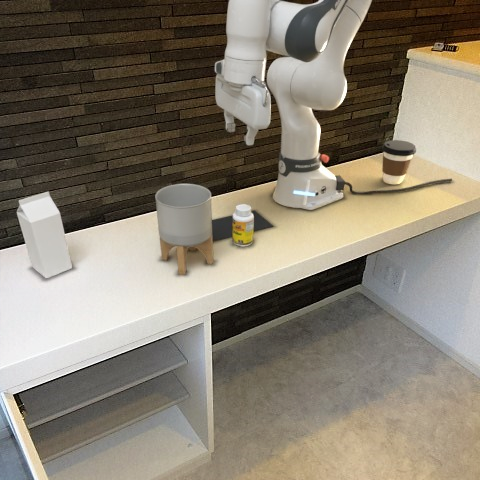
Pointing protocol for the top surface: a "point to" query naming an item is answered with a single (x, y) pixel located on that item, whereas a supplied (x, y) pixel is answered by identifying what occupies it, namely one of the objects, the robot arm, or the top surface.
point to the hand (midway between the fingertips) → (239, 137)
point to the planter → (185, 221)
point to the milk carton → (44, 235)
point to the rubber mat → (225, 225)
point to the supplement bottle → (243, 226)
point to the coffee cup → (396, 160)
